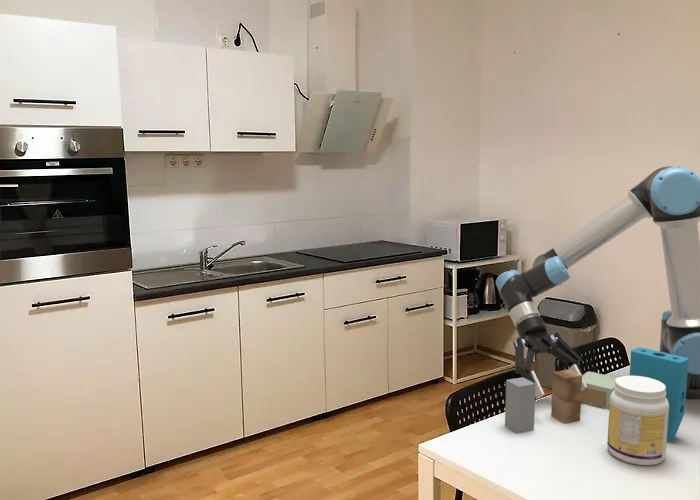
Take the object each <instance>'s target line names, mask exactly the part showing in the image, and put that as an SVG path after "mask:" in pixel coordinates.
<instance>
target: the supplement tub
mask: <svg viewBox="0 0 700 500" xmlns="http://www.w3.org/2000/svg"><path fill="white" fill-rule="evenodd" d="M614 388H615V390H614V391H613V392H612V393H611V395H610V407H609V409H608V410H609V411H608V427H607V441H606V442H607V443H606V444H607V449H608V451H609V453H610V454H612V455H613V456H614V457H615V458H617V459H618V460H620V461H623V462H626V463H629V464H632V465H637V466H638V465H639V466H655V465H657V464H660V463H662V462H663V461H664V460H665V458H666V454H667V453H666V451H667V428H668V415H669V402H668V400H667V398H666V397H665V396H666V386H665V385H664V384H663V383H662V382H660V381H658V380H655V379H652V378H648V377H642V376H630V375H623V376H619V377H617V379H616V380H615V385H614Z"/></svg>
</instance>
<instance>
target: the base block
mask: <svg viewBox="0 0 700 500" xmlns="http://www.w3.org/2000/svg"><path fill="white" fill-rule="evenodd" d="M582 377H583V379H584V381H585V383H586V385H587V387H586V388H585V389H584V390H582V391H581V403H582V404H586V405H589V406H593V407H598V408H602V409H606V410H609V407H610V395H611V393H612V392H613V391H614V390H615V388H614V385H615V380H616V379H617V378H618V377H617V376H612V375H608V374H603V373H598V372H594V371H587V372H585V373H583V376H582Z"/></svg>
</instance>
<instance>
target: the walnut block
mask: <svg viewBox="0 0 700 500" xmlns="http://www.w3.org/2000/svg"><path fill="white" fill-rule="evenodd" d="M551 387H552V391H551V409H550V411H551V414H550V415H551V417H552V418H553V419H555V420H557V421H559V422H560V423H563V424H565V425H566V424H570V423H574V422H578V421H579V422H580V421H581V406H582V404H581V390H582V375H580V374H577V373H575V372H573V371H571V370H568V369H563V370H558V371H553V372H552V386H551Z"/></svg>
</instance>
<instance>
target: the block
mask: <svg viewBox="0 0 700 500" xmlns="http://www.w3.org/2000/svg"><path fill="white" fill-rule="evenodd" d="M688 360H689V359H688V358H686V357H682V356H677V355H673V354H668V353H664V352H660V350H655V349H649V348H646V347H636V348H633V349H630V360H629V361H630V363H629V364H630V365H629V376H642V377H648V378H652V379H655V380H658V381H660V382H662V383H663V384H664V385H665V386H666V396H665V397H666V398H667V400H668V402H669V415H668V428H667V442H671V441H673V439H675V438H676V436H677V434H678V431H679V429H680V425H681V423H682V421H683V418H684V416H685V411H686V400H687V398H686V387H687V373H688ZM667 442H666V443H667Z"/></svg>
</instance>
